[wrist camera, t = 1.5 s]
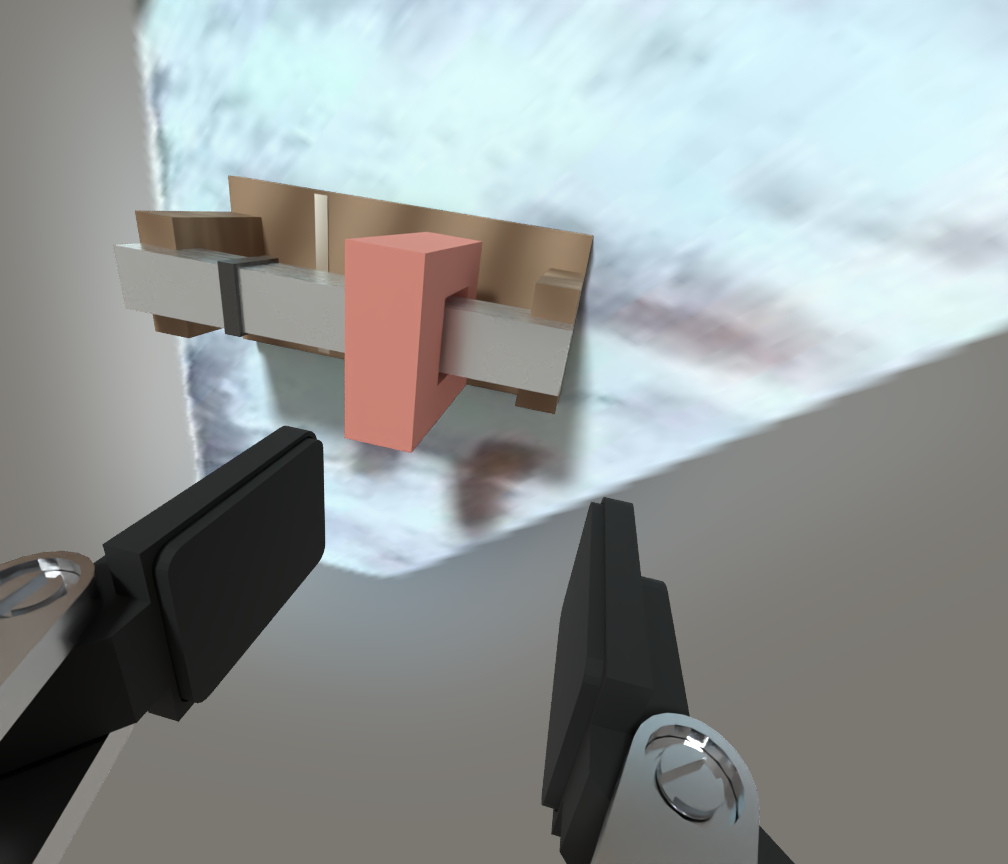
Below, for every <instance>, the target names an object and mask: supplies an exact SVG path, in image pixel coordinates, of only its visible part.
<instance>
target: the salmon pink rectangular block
mask: <svg viewBox="0 0 1008 864" xmlns="http://www.w3.org/2000/svg"><path fill="white" fill-rule="evenodd" d="M482 242H483V241H478V240H472V239H466V238H460V237H455V236H449V235H443V234H437V233H431V232H420V233H408V234H397V235H385V236H374V237H363V238H351V239H345V438H347V439H352V440H356V441H361V442H365V443H370V444H374V445H379V446H383V447H388V448H392V449H396V450H401V451H405V452H410V453H412V451H413V450H414V449H415V448H416V446H417V445H418V444H419V443H420V441H421V440H422V439H423V438H424V436H425V435H426V434H427V433H428V431H429V430H430V429H431V428H432V427H433V425H434V424H435V423H436V422H437V420H438V419H439V418H440V417H441V415H442V414H443V413H444V412H445V410H446V409H447V408H448V407H449V405H450V404H451V403H452V402H453V400H454V399H455V398H456V397H457V395H458V394H459V393H460V392H461V391H462V389H463V388H464V387H465V386H466V377H461V376H456V375H451V374H446V373H441V372H439V361H440V350H441V339H442V328H443V317H444V306H445V298H446V297H448V296H450V295H454V296H460V297H465V298H471V299H476V293H477V285H478V276H479V268H480V259H481V251H482Z"/></svg>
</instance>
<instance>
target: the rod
mask: <svg viewBox="0 0 1008 864" xmlns="http://www.w3.org/2000/svg"><path fill="white" fill-rule="evenodd" d="M113 246H114V252H115V257H116V261H117V267H118V272H119V277H120V282H121V287H122V293H123V298H124V302H125V308H127V309H132V310H136V311H142V312H146V313H151V314H156V315H161V316H166V317H171V318H176V319H181V320H186V321H190V322H195V323H200V324H205V325H210V326H215V327H220V328H225V334H228V335H233V336H238V337H242V336H245V335H248V334H254V335H259V336H264V337H269V338H274V339H279V340H284V341H289V342H294V343H299V344H304V345H308V346H313V347H318V348H323V349H328V350H333V351H338V352H343V353H345V275H341V274H336V273H330V272H325V271H320V270H314V269H309V268H303V267H298V266H293V265H287V264H282V263H279V259H278V258H275V257H270V256H256V257H244V256H239V255H233V254H228V253H222V252H217V251H212V250H206V249H201V248H195V249H182V250H174V249H169V248H163V247H158V246H153V245H147V244H142V243H137V244H119V245H113ZM530 315H531V310H530V309H525V308H519V307H514V306H508V305H503V304H498V303H492V302H487V301H481V300H476V299H471V298H465V297H460V296H454V295H450V296H448V297H446V298H445V306H444V317H443V328H442V339H441V350H440V361H439V372H441V373H446V374H451V375H456V376H461V377H466V378H471V379H476V380H480V381H485V382H490V383H495V384H500V385H505V386H510V387H515V388H520V389H525V390H530V391H534V392H539V393H544V394H549V395H554V396H558V394H559V390H560V386H561V382H562V378H563V373H564V368H565V363H566V359H567V354H568V349H569V348H568V347H569V344H570V340H571V335H572V334H571V333H572V330H573V329H572V328H573V325H574V324H570V323H565V322H559V321H554V320H549V319H543V318H538V317H533V316H530Z"/></svg>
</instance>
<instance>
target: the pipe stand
mask: <svg viewBox="0 0 1008 864" xmlns="http://www.w3.org/2000/svg"><path fill="white" fill-rule="evenodd" d="M228 180H229V191H230V202H231V212H201V211H135V214H136V220H137V226H138V232H139V237H140V243H142V244H147V245H153V246H158V247H163V248H169V249H174V250H182V249H195V248H201V249H206V250H212V251H217V252H222V253H228V254H233V255H239V256H244V257H256V256H270V257H275V258H278V259H279V263H282V264H287V265H293V266H298V267H303V268H309V269H314V270H320V271H325V272H330V273H336V274H341V275H345V239H351V238H363V237H374V236H385V235H397V234H408V233H420V232H431V233H437V234H443V235H449V236H455V237H460V238H466V239H472V240H478V241H483V242H482V251H481V259H480V268H479V276H478V285H477V293H476V300H481V301H487V302H492V303H498V304H503V305H508V306H514V307H519V308H525V309H530V310H531V315H530V316H533V317H538V318H543V319H549V320H554V321H559V322H565V323H570V324H574V325H573V328H572V329H573V330H574V326H575V321H576V316H577V311H578V307H579V302H580V297H581V292H582V288H583V283H584V278H585V273H586V269H587V264H588V259H589V254H590V249H591V245H592V240H593V235H587V234H581V233H575V232H569V231H563V230H557V229H551V228H545V227H539V226H533V225H527V224H521V223H515V222H509V221H503V220H497V219H491V218H485V217H479V216H473V215H467V214H461V213H455V212H449V211H443V210H437V209H431V208H425V207H419V206H413V205H407V204H401V203H395V202H389V201H383V200H377V199H371V198H365V197H359V196H353V195H347V194H341V193H335V192H329V191H323V190H317V189H311V188H305V187H299V186H293V185H287V184H281V183H275V182H269V181H263V180H257V179H251V178H245V177H238V176H228ZM153 319H154V324H155V330H156V331H157V332H162V333H167V334H171V335H176V336H181V337H186V338H191V337H195V336H198V335H201V334H205V333H208V332H212V331H215V330H218V329H222V328H220V327H215V326H210V325H205V324H200V323H195V322H190V321H186V320H181V319H176V318H171V317H166V316H161V315H156V314H153ZM573 330H572V333H571V334H572V335H573ZM572 335H571V340H572ZM243 339H248V340H253V341H258V342H262V343H267V344H272V345H277V346H282V347H287V348H292V349H297V350H301V351H306V352H311V353H316V354H321V355H326V356H331V357H336V358H340V359H345V353H343V352H338V351H333V350H328V349H323V348H318V347H313V346H308V345H304V344H299V343H294V342H289V341H284V340H279V339H274V338H269V337H264V336H259V335H254V334H248V335H245V336H243ZM571 340H570V344H569V347H568V348H569V349H570V345H571ZM569 349H568V354H569ZM568 354H567V359H568ZM567 359H566V363H565V368H566V364H567ZM565 368H564V373H565ZM564 373H563V378H564ZM563 378H562V382H561V386H560V390H559V394H558V396H554V395H549V394H544V393H539V392H534V391H530V390H525V389H520V388H515V387H510V386H505V385H500V384H495V383H490V382H485V381H480V380H476V379H471V378H466V384H467V385H472V386H477V387H482V388H487V389H492V390H497V391H501V392H506V393H511V394H516V395H517V398H516V404H515V406H518V407H523V408H528V409H533V410H537V411H542V412H547V413H552V414H555V410H556V406H557V403H558V401H559V397H560V392H561V387H562V383H563Z"/></svg>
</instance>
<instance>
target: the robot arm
mask: <svg viewBox="0 0 1008 864" xmlns="http://www.w3.org/2000/svg"><path fill="white" fill-rule="evenodd" d="M103 547H104V551H105V556H103V557H102V558H101V559H99V560H98V561H96V562H95V563H93V562H92V561H91V560H90V558H89V557H86V556H84V555H82V554H80V553H76V552H68V551H51V552H41V553H37V554H32V555H27V556H22V557H19V558H17V559H14V560H11V561H8V562H5V563H2V564H0V864H58V863H59V861H60V859H61V857H62V856H63V854H64V852H65V850H66V849H67V847H68V845H69V843H70V841H71V839H72V838H73V836H74V834H75V832H76V831H77V829H78V827H79V825H80V823H81V822H82V820H83V818H84V816H85V814H86V813H87V811H88V809H89V807H90V805H91V804H92V802H93V800H94V798H95V796H96V794H97V793H98V791H99V789H100V787H101V786H102V784H103V782H104V780H105V778H106V777H107V775H108V773H109V771H110V769H111V767H112V766H113V764H114V762H115V760H116V758H117V757H118V755H119V753H120V751H121V749H122V748H123V746H124V743H125V742H126V740H127V739H128V737H129V735H130V733H131V731H132V729H133V726H134V723H137V722H138V721H139V720H140V718H141V717H142V716H143V715H144V714H145V713H146V712H147V711H148V712H149V713H152V714H156V715H159V716H162V717H165V718H169V719H172V720H175V721H178V722H179V721H180V719H181V718H182V717H183V716H184V715H185V713H186V712H187V711H188V710H189V709H190V707H191V706H192V705H193V704H194V703H200V702H203V701H204V700H205V699H207V697H208V696H209V695H210V694H211V693H212V692H213V691H214V689H215V688H216V687H217V686H218V685H219V683H220V682H221V681H222V680H223V678H224V677H225V676H226V675H227V674H228V672H229V671H230V670H231V669H232V668H233V666H234V665H235V664H236V663H237V661H238V660H239V659H240V658H241V657H242V655H243V654H244V653H245V651H246V650H247V649H248V648H249V647H250V645H251V644H252V643H253V642H254V641H255V639H256V638H257V637H258V636H259V635H260V633H261V632H262V631H263V630H264V628H265V627H266V626H267V625H268V624H269V622H270V621H271V620H272V618H273V617H274V616H275V615H276V614H277V613H278V611H279V610H280V609H281V608H282V606H283V605H284V604H285V603H286V602H287V600H288V599H289V598H290V597H291V595H292V594H293V593H294V592H295V591H296V589H297V588H298V587H299V586H300V584H301V583H302V582H303V581H304V580H305V578H306V577H307V576H308V575H309V573H310V572H311V571H312V570H313V569H314V567H315V566H316V565H317V564H318V562H319V561H320V559H321V557H322V555H323V553H324V549H325V510H324V461H323V444H322V442H321V441H320V440H317V438H316V435H315V434H314V433H313V432H312V431H307V430H303V429H299V428H294V427H290V426H283V427H281V428H279V429H278V430H276V431H275V432H273V433H271V434H270V435H268V436H267V437H265V438H264V439H262V440H261V441H259V442H258V443H256V444H255V445H253V446H252V447H250V448H249V449H247V450H246V451H244V452H243V453H241V454H240V455H238V456H236V457H235V458H233V459H232V460H230V461H229V462H227V463H226V464H224V465H223V466H221V467H220V468H218V469H217V470H215V471H214V472H212V473H211V474H209V475H208V476H206V477H204V478H203V479H201V480H200V481H198V482H197V483H195V484H194V485H192V486H191V487H189V488H188V489H186V490H185V491H183V492H182V493H180V494H179V495H177V496H176V497H174V498H173V499H171V500H169V501H168V502H167V503H165V504H163V505H162V506H161V507H159V508H158V509H156V510H154V511H153V512H151V513H150V514H149V515H147V516H145V517H144V518H142V519H141V520H139V521H138V522H136V523H135V524H133V525H131V526H130V527H128V528H127V529H125V530H124V531H122V532H121V533H119V534H118V535H116V536H115V537H113V538H112V539H110V540H109V541H107V542H106V543H104V544H103ZM542 805H543V806H546V807H550V808H553V821H552V833H551V834H553V835H556V836H559V837H561V839H560V853H561V855H562V856H563V858H564V860H565V862H566V863H567V864H794V863H793V861H792V860H790V858H789V857H788V856H787V855H786V854H785V853H784V852H783V851H782V849H781V848H780V847H779V846H778V845H777V844H776V843H775V842H774V841H773V840H772V839H771V838H770V836H769V835H768V834H767V833H766V832H765V831H764V830H763V829H762V828H761V827H760V826H759V815H760V810H759V801H758V794H757V789H756V787H755V784H754V781H753V779H752V776H751V774H750V771H749V769H748V768H747V766H746V765H745V763H744V762H743V760H742V759H741V757H740V756H739V754H738V753H737V751H736V750H735V749H734V748H733V747H732V746H731V745H730V744H729V743H728V742H727V741H726V740H725V739H724V738H723V737H722V736H721V735H720V734H719V733H717V732H716V731H714V730H713V729H712V728H710V727H709V726H707V725H706V724H704V723H703V722H701V721H698V720H696V719H693V718H691V717H690V716H689V710H688V704H687V699H686V693H685V687H684V682H683V677H682V670H681V665H680V659H679V653H678V647H677V642H676V636H675V630H674V624H673V619H672V614H671V608H670V602H669V596H668V591H667V587H666V585H665V583H664V582H663V581H659V580H654V579H651V578H646V577H642V576H641V572H640V562H639V553H638V544H637V534H636V526H635V516H634V507H633V504H632V503H628V502H624V501H620V500H615V499H611V498H606V497H603V499H602V502H601V504H599V503H595V502H591V504H590V506H589V510H588V514H587V518H586V521H585V525H584V529H583V532H582V536H581V540H580V544H579V547H578V551H577V555H576V558H575V562H574V566H573V570H572V573H571V577H570V581H569V584H568V588H567V592H566V595H565V599H564V603H563V607H562V612H561V618H560V625H559V634H558V645H557V654H556V664H555V673H554V684H553V693H552V702H551V711H550V722H549V731H548V741H547V751H546V760H545V769H544V779H543V788H542Z"/></svg>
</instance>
